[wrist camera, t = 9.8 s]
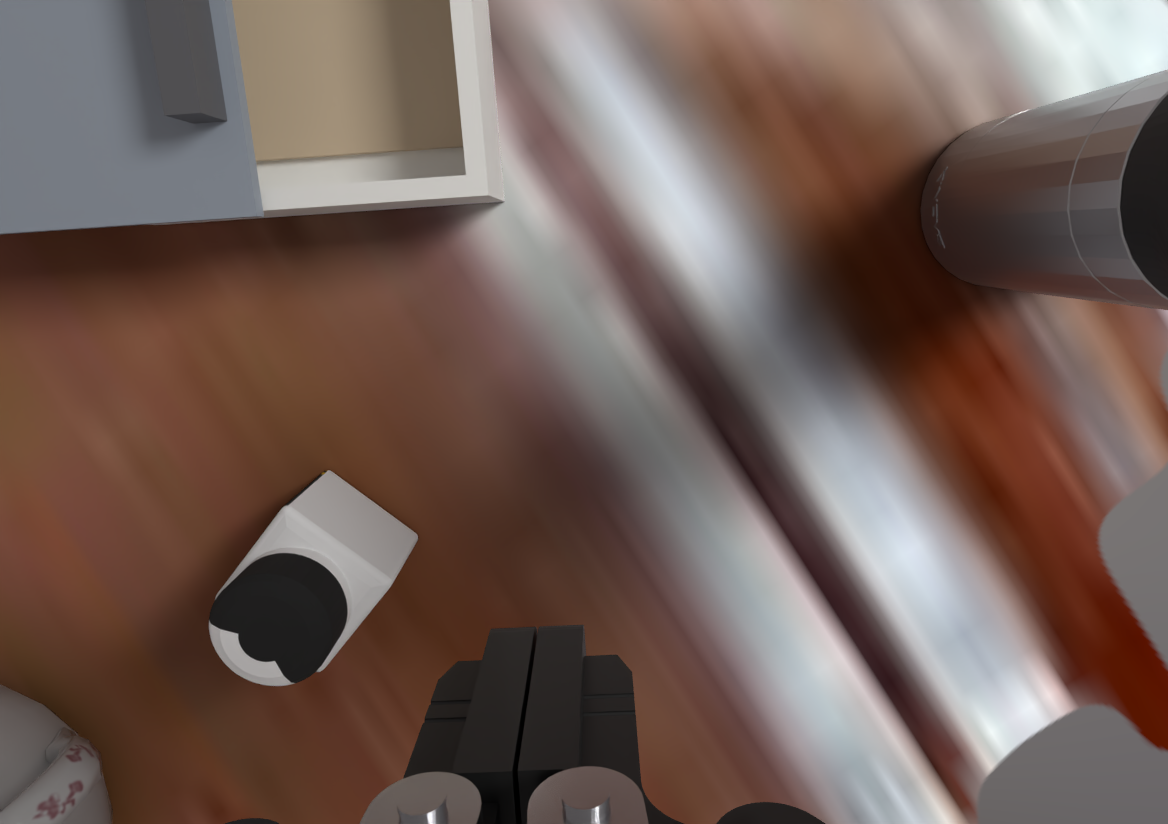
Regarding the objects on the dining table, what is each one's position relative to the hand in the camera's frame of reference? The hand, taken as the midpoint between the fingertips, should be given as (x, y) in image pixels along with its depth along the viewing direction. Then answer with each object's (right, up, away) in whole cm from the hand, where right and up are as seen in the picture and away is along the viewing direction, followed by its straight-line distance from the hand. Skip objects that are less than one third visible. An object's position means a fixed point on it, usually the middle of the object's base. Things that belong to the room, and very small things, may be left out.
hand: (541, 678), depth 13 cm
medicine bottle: (-14, -4, +37) cm, 40 cm away
